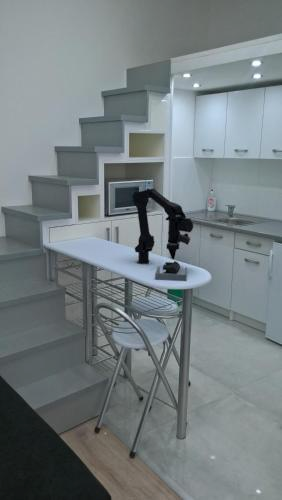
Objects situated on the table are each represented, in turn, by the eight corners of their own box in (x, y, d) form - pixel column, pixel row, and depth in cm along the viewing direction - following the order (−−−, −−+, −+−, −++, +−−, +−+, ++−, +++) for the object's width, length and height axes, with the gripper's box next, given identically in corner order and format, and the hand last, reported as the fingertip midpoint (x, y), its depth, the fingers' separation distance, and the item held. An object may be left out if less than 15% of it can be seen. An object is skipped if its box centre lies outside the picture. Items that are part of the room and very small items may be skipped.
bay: (157, 271, 220) (157, 266, 220) (186, 273, 219) (186, 267, 218) (155, 279, 207) (155, 273, 207) (186, 280, 206) (186, 274, 205)
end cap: (176, 279, 208) (177, 266, 206) (162, 278, 209) (162, 265, 208) (179, 274, 217) (180, 261, 215) (166, 273, 219) (166, 260, 217)
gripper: (189, 233, 210) (188, 264, 213) (190, 227, 228) (189, 255, 231) (166, 232, 211) (166, 263, 215) (169, 226, 229) (168, 254, 233)
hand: (173, 259), depth 223 cm, fingers closed
